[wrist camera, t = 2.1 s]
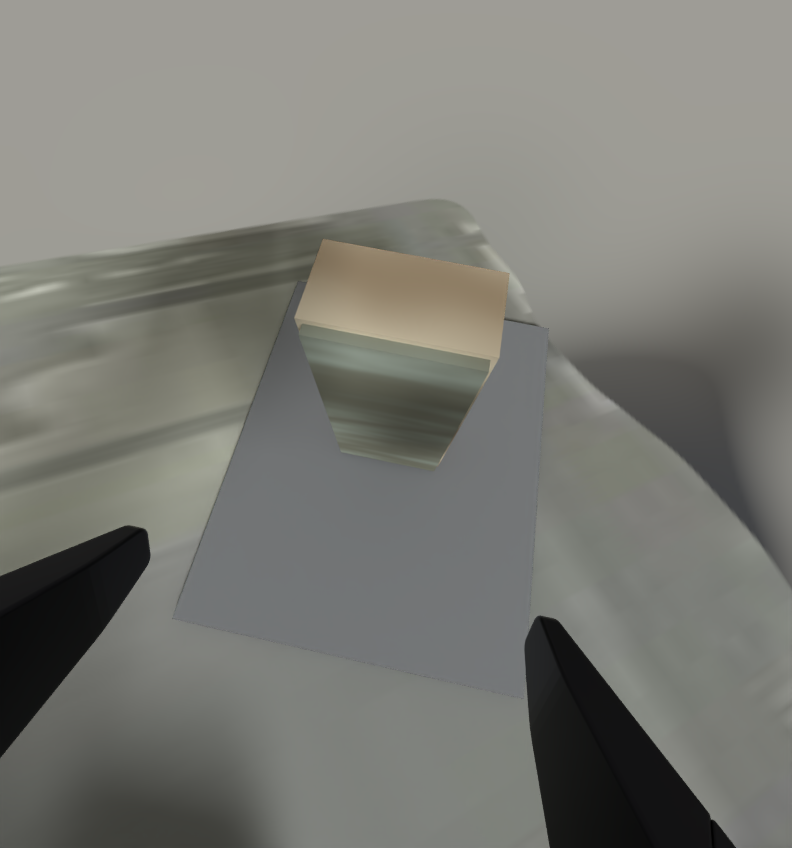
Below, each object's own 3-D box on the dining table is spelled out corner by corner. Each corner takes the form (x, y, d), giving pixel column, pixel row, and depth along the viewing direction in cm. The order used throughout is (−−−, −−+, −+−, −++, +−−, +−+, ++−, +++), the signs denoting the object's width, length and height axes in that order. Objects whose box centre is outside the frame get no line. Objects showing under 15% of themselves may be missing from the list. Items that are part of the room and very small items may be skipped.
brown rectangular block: (436, 472, 22) (497, 369, 10) (338, 452, 22) (289, 329, 11) (445, 419, 23) (509, 273, 12) (352, 400, 24) (322, 238, 12)
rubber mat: (519, 695, 19) (523, 699, 18) (178, 617, 20) (171, 618, 19) (545, 333, 27) (548, 328, 26) (299, 286, 27) (298, 280, 27)
